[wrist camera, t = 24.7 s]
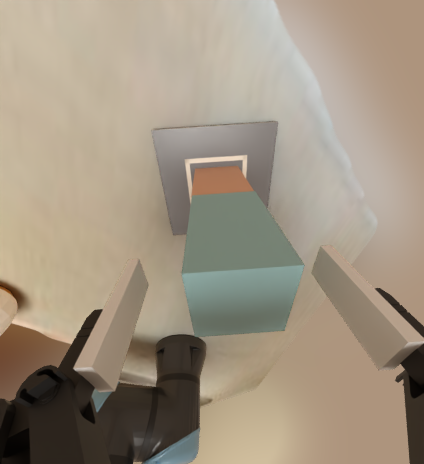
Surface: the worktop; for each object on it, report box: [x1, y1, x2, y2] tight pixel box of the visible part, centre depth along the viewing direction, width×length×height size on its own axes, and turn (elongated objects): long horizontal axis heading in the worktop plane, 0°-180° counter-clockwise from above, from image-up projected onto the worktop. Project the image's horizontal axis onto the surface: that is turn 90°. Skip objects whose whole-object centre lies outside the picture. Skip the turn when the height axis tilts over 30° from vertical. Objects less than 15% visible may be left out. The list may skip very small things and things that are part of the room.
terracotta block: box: [191, 166, 254, 198], centre depth 23 cm, size 6×6×10 cm
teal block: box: [182, 191, 305, 337], centre depth 15 cm, size 6×6×10 cm
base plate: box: [151, 121, 278, 235], centre depth 28 cm, size 16×16×2 cm
